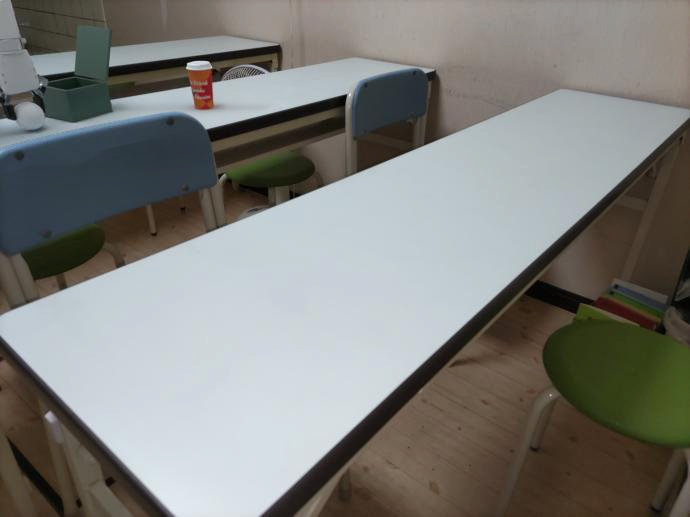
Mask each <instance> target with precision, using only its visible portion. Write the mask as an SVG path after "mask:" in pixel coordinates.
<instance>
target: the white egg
mask: <svg viewBox="0 0 690 517" xmlns="http://www.w3.org/2000/svg"><path fill="white" fill-rule="evenodd" d="M13 108H14V111H15V114H16V118H17V120H15V121H14V122H15V123H16V124H17V126H18V127H20V128H22V129H24V130H28V131H35V130H38V129H40V128H42V126H43V125H44V123H45V120H46V116H44V112H43V110H42V109H41V108H40V107H39V106H38V105H36V104H35V103H34V102H33V101H32V102H31V101H22V102H20V103H17V104H16V105H15V106H14V107H13ZM2 116H3V117H6V116H5V114H4V115H2Z"/></svg>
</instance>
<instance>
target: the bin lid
mask: <svg viewBox="0 0 690 517" xmlns="http://www.w3.org/2000/svg"><path fill="white" fill-rule="evenodd" d="M112 36H113V29H111V28H105V27H98V26H91V25H83V24H77V31H76V46H75V47H76V48H75V57H74V58H75V60H74V75H75V76H77V77H82V78H88V79H93V80H98V81H103V82H108V81H109V72H110V71H109V70H110V61H111V60H110V59H111V50H112V49H111V47H112V38H113V37H112Z"/></svg>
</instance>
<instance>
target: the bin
mask: <svg viewBox="0 0 690 517" xmlns="http://www.w3.org/2000/svg"><path fill="white" fill-rule="evenodd" d="M43 102H44V105H45V111H46V113H44V116H45V117H48V118H53V119H56V120H60V121H64V122H68V123H73V124H75V123H78V122H82V121H86V120H89V119H92V118H96V117H99V116H103V115H106V114H110V113H113V112H114V111H113V106H112V102H111V97H110V91H109V87H108V82H107V81H102V80H97V79H92V78H87V77H82V76H71V77H66V78H60V79H56V80H50V81H49V80H48V84H47V87H46V91H45V93H44V97H43Z"/></svg>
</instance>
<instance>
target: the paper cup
mask: <svg viewBox="0 0 690 517" xmlns="http://www.w3.org/2000/svg"><path fill="white" fill-rule="evenodd" d="M185 69H186V70H187V74H188V79H189V84H190V88H191V94H192V99H193V104H194V109H196V110H200V111H201V110H202V111H206V110H211V109H214V108H215V107H214V106H215V105H214V104H215V103H214V88H213V86H214V85H213V72H212V71H213V70H212V69H213V66H212V64H211V63H210V61H207V60H195V61H190V62H187V63H186V67H185Z"/></svg>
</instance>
